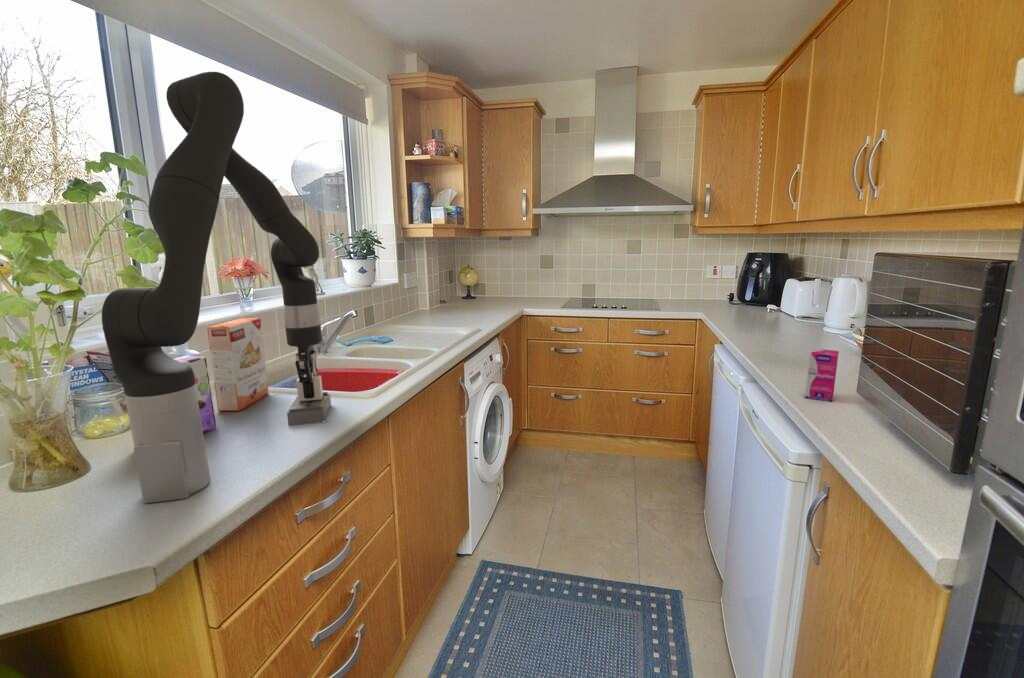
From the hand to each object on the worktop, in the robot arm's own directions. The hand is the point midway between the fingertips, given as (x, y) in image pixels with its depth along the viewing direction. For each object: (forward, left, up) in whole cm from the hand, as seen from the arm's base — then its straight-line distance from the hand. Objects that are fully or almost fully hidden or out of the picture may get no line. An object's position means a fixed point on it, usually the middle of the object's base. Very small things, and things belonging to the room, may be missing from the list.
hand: (310, 395), depth 115 cm
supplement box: (-25, -120, -4) cm, 123 cm away
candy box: (-9, +25, -4) cm, 27 cm away
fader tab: (0, 0, -1) cm, 1 cm away
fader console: (-2, 0, -4) cm, 5 cm away
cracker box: (+13, +18, -4) cm, 22 cm away
